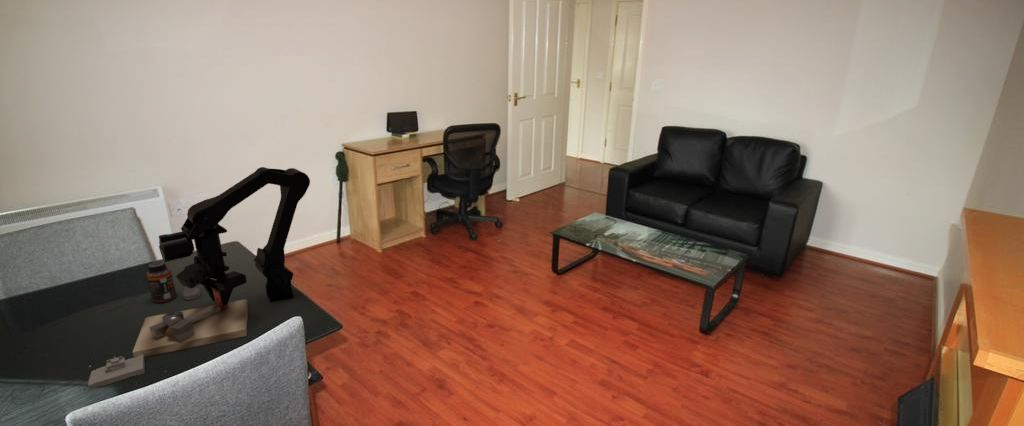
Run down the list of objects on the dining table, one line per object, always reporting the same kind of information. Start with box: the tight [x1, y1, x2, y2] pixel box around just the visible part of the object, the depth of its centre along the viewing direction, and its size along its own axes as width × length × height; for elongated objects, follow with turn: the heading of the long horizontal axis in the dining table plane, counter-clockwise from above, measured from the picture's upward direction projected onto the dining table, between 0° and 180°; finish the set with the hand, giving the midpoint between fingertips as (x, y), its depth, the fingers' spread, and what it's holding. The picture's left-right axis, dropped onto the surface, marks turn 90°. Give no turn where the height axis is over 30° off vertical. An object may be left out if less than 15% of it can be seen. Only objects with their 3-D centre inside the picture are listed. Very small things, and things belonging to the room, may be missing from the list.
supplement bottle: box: [146, 260, 177, 304], centre depth 143 cm, size 6×6×11 cm
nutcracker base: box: [132, 299, 249, 358], centre depth 129 cm, size 24×17×6 cm
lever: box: [150, 284, 229, 339], centre depth 128 cm, size 18×4×7 cm, turn 147°
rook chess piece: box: [182, 286, 201, 301], centre depth 145 cm, size 4×4×8 cm
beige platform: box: [87, 354, 146, 391], centre depth 113 cm, size 12×11×4 cm
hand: (220, 303), depth 135 cm, fingers open, 4 cm apart
